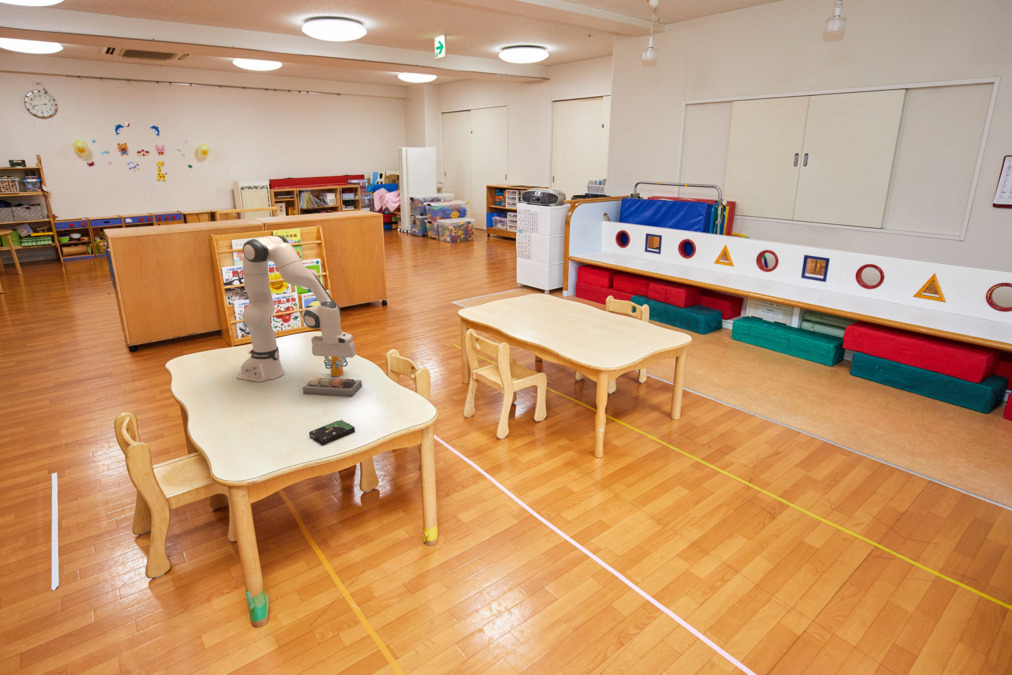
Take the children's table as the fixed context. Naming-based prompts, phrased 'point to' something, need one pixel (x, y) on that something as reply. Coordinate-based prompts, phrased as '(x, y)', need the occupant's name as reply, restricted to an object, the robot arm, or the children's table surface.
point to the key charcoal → (348, 383)
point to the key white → (315, 381)
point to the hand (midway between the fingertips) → (335, 364)
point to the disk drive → (331, 432)
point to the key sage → (326, 381)
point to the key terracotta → (337, 382)
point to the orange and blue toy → (336, 366)
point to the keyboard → (332, 389)
